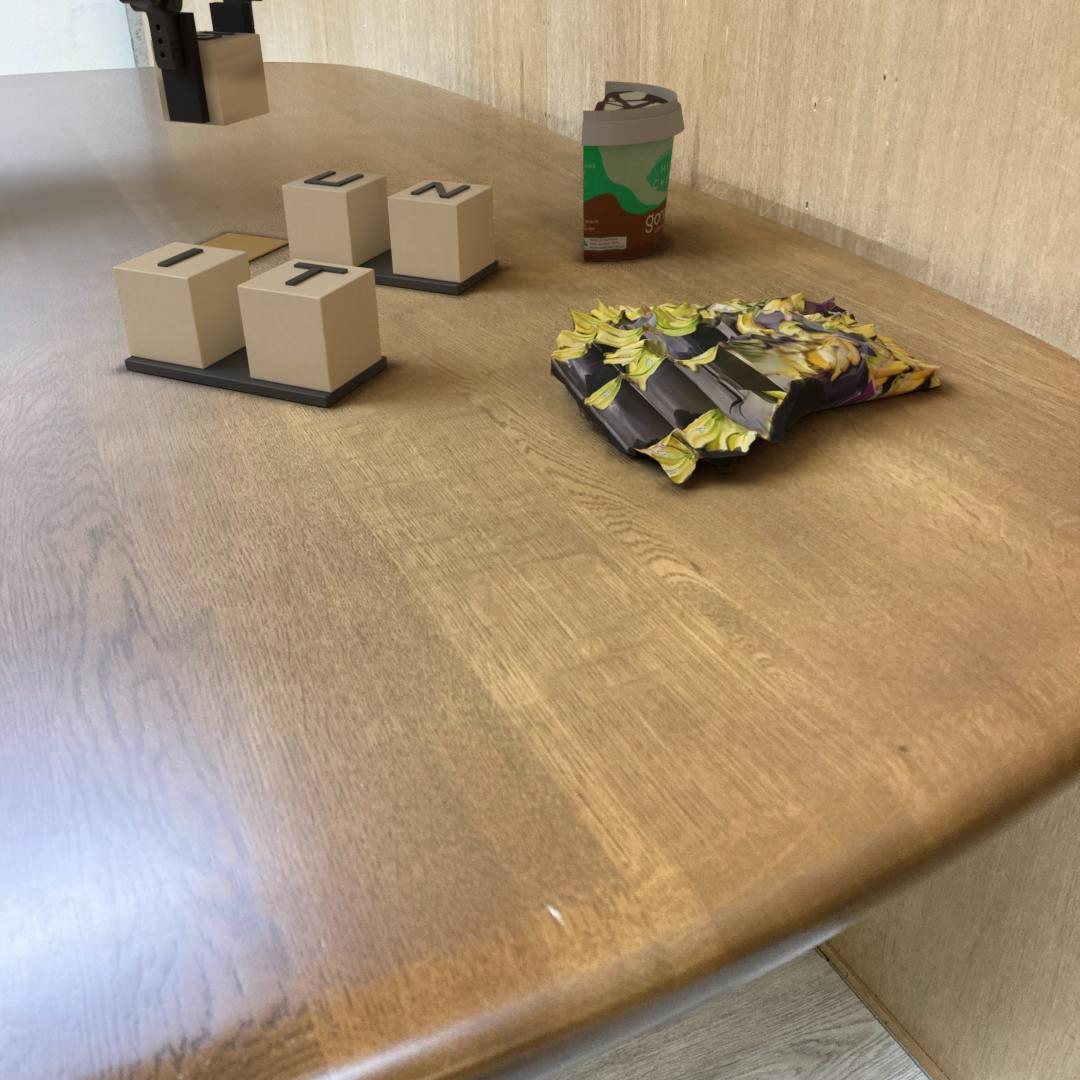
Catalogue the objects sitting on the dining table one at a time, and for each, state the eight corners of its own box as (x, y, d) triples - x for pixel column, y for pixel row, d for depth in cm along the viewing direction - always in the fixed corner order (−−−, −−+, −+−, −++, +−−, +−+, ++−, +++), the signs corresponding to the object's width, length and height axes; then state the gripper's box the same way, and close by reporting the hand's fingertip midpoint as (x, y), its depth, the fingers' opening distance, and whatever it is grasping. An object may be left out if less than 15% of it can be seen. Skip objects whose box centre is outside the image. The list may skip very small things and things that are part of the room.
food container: (671, 271, 76) (679, 114, 71) (580, 267, 77) (581, 112, 72) (684, 221, 87) (691, 81, 81) (603, 218, 87) (606, 79, 82)
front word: (125, 369, 62) (104, 266, 59) (196, 333, 67) (179, 236, 64) (327, 408, 58) (314, 298, 55) (387, 366, 62) (379, 262, 59)
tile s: (163, 121, 76) (149, 37, 73) (211, 108, 80) (199, 28, 77) (224, 126, 74) (211, 40, 72) (270, 112, 78) (259, 30, 75)
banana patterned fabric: (816, 327, 69) (861, 230, 65) (973, 508, 59) (1039, 406, 54) (512, 324, 61) (541, 213, 57) (631, 534, 51) (677, 416, 46)
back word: (177, 255, 80) (162, 171, 77) (230, 233, 85) (218, 153, 82) (457, 295, 72) (453, 203, 69) (498, 268, 77) (496, 181, 74)
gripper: (90, -342, 57) (173, 144, 69) (298, -303, 71) (337, 94, 83) (-22, -331, 59) (77, 135, 71) (201, -296, 73) (252, 88, 85)
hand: (217, 112), depth 77 cm, fingers closed on tile s, 5 cm apart
